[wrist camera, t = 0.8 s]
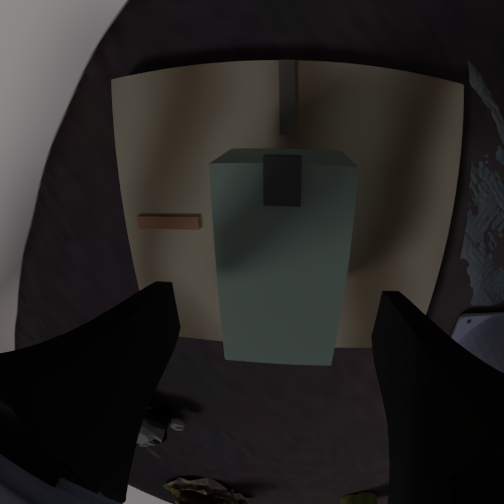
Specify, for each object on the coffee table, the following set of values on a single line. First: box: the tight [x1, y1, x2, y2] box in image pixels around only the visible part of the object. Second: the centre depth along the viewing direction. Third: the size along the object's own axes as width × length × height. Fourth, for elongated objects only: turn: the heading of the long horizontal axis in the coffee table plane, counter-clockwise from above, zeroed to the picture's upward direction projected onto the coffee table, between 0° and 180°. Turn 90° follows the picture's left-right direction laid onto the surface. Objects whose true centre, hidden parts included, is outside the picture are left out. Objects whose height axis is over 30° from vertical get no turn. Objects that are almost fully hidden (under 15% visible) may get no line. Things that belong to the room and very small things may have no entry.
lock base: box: [111, 60, 464, 348], centre depth 17 cm, size 20×18×3 cm
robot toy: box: [136, 406, 185, 447], centre depth 29 cm, size 12×4×15 cm
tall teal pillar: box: [209, 148, 358, 366], centre depth 13 cm, size 5×9×5 cm, turn 1°
